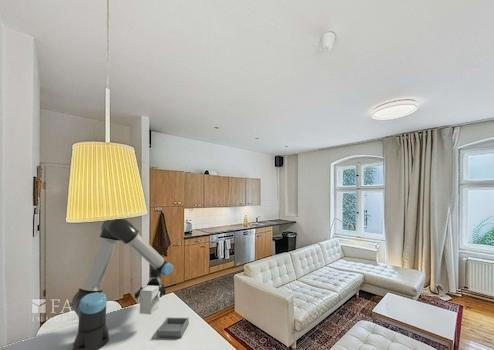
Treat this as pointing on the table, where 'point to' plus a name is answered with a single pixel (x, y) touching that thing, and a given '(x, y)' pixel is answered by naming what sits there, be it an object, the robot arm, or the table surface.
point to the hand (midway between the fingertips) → (148, 299)
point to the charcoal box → (173, 328)
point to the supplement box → (149, 299)
